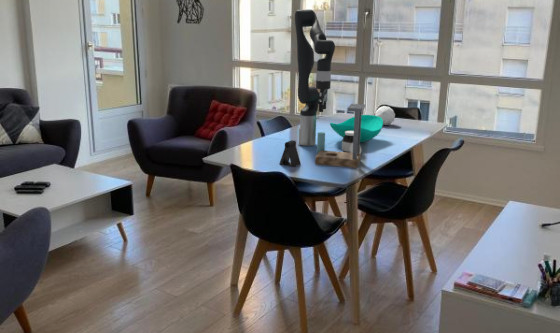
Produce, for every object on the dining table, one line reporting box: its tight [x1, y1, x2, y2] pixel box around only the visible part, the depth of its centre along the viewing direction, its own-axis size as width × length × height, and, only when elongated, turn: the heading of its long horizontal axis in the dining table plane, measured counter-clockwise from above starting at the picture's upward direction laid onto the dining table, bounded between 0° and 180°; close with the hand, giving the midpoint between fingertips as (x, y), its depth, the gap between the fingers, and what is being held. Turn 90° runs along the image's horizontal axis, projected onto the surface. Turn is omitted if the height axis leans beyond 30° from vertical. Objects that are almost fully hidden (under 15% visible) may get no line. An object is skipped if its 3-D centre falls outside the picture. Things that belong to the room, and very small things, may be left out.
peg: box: [316, 131, 326, 155], centre depth 297 cm, size 4×4×12 cm
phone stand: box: [279, 139, 302, 168], centre depth 278 cm, size 9×6×12 cm, turn 56°
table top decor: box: [329, 114, 384, 143], centre depth 329 cm, size 40×28×13 cm
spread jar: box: [341, 131, 362, 153], centre depth 301 cm, size 12×11×12 cm
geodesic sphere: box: [374, 105, 396, 126], centre depth 380 cm, size 14×14×14 cm
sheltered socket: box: [314, 103, 366, 169], centre depth 280 cm, size 22×14×30 cm, turn 75°
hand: (322, 110), depth 292 cm, fingers open, 8 cm apart
